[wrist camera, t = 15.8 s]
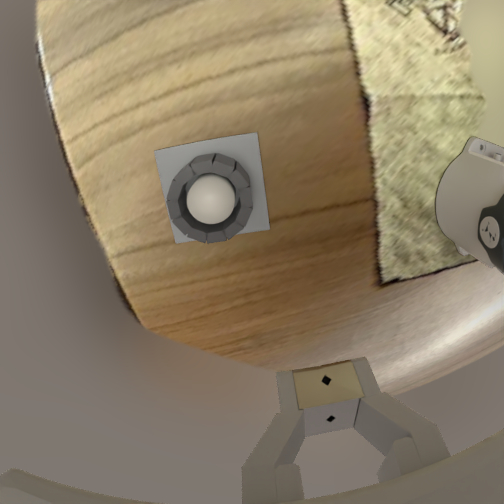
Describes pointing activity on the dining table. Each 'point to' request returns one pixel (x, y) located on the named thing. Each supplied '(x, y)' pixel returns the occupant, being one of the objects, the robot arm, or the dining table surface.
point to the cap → (211, 198)
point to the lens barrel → (222, 163)
